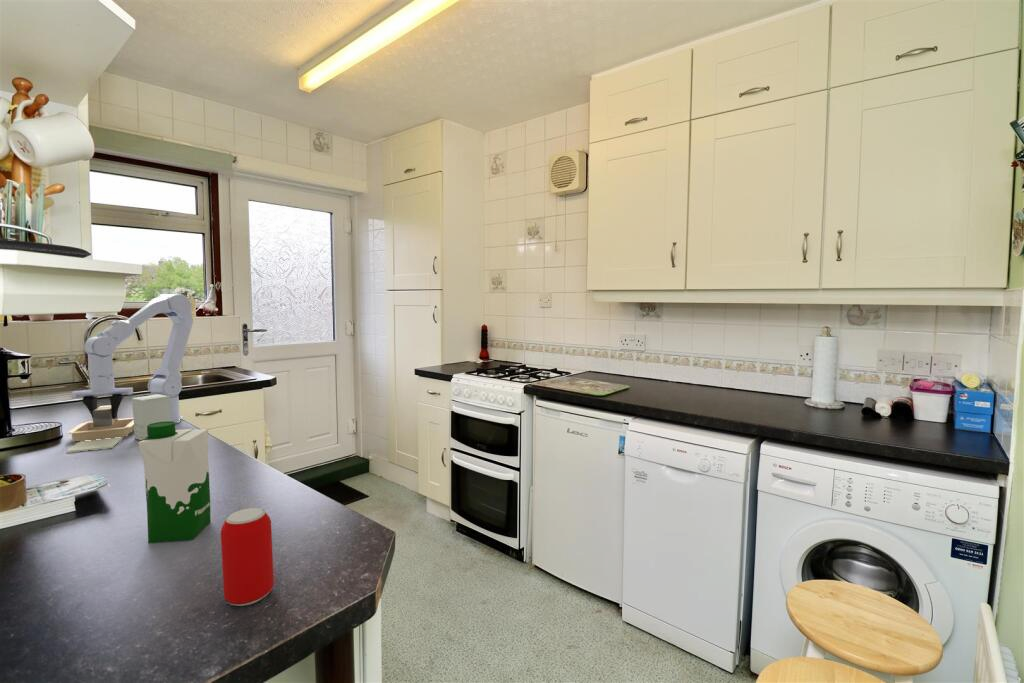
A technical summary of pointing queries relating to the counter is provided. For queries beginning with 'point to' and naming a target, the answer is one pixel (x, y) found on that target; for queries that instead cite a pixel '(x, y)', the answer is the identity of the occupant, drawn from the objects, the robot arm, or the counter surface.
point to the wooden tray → (102, 430)
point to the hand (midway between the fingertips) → (105, 419)
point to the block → (103, 416)
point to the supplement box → (149, 412)
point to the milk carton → (176, 482)
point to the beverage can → (247, 556)
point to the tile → (94, 445)
